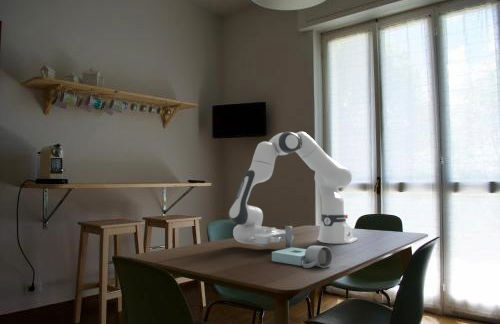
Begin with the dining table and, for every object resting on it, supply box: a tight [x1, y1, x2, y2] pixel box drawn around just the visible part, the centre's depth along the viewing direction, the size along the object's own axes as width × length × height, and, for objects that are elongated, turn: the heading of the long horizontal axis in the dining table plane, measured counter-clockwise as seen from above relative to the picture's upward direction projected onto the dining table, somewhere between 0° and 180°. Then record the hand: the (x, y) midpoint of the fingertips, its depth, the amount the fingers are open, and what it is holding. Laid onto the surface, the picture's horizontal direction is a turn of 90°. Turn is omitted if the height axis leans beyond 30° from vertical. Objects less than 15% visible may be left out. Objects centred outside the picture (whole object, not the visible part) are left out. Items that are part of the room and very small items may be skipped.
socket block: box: [271, 246, 309, 267], centre depth 154 cm, size 14×14×4 cm
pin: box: [284, 225, 294, 249], centre depth 168 cm, size 3×3×12 cm
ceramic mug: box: [302, 245, 333, 269], centre depth 144 cm, size 11×8×8 cm
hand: (286, 238), depth 169 cm, fingers open, 8 cm apart
